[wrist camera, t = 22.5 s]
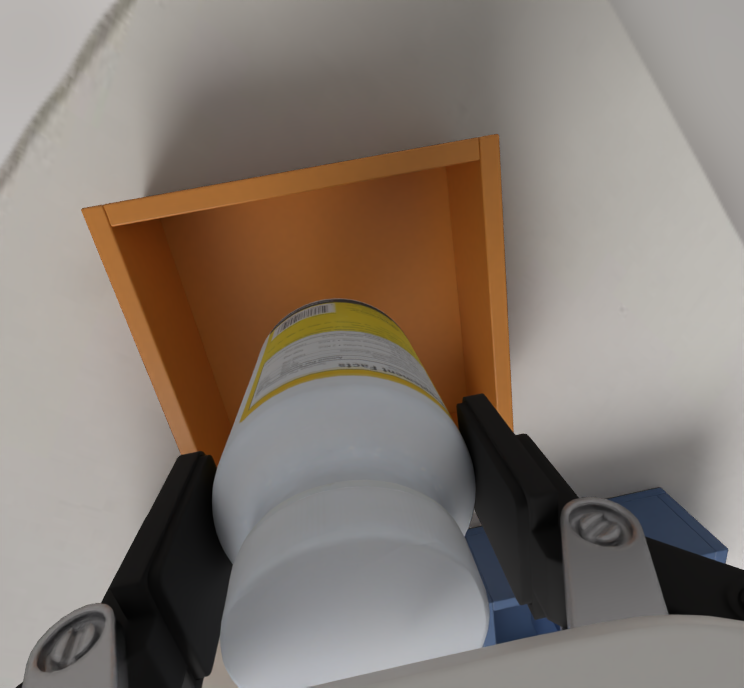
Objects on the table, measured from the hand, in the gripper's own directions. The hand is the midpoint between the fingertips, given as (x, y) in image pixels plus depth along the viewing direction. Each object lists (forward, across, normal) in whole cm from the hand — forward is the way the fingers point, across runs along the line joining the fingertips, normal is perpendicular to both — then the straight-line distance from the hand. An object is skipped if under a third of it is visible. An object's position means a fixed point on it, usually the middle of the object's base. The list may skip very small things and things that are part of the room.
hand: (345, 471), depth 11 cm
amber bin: (+13, 0, 0) cm, 13 cm away
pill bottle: (+7, 0, 0) cm, 7 cm away
